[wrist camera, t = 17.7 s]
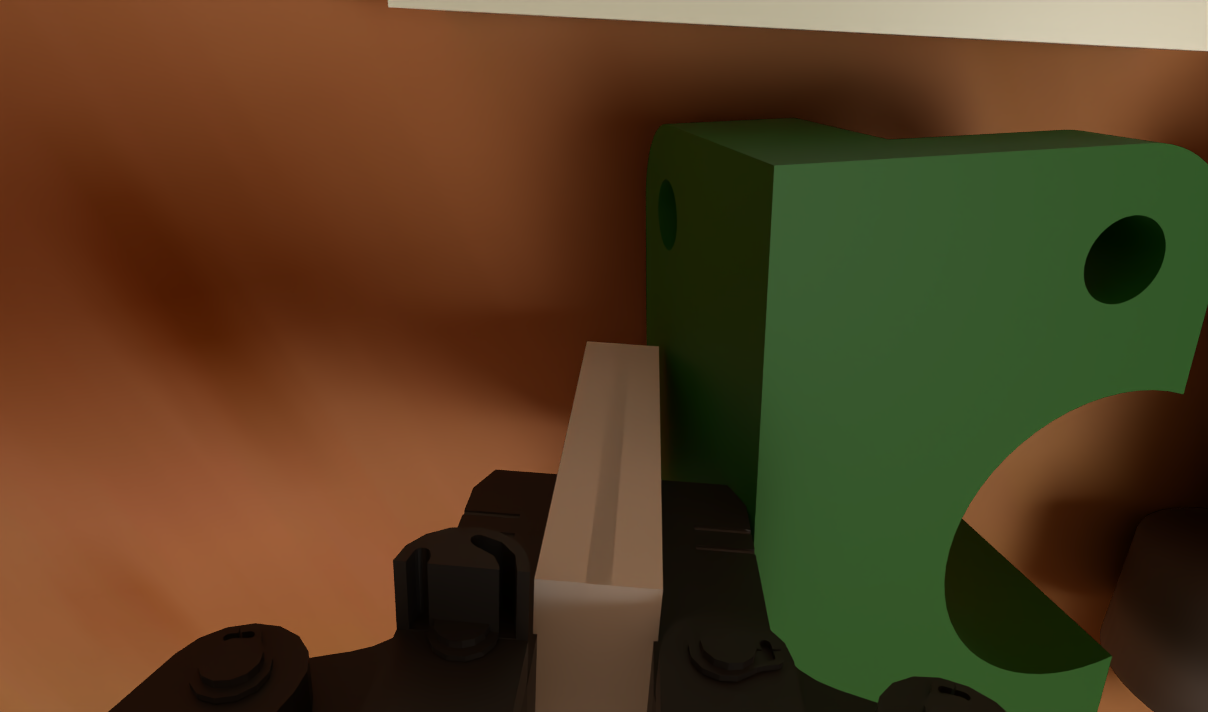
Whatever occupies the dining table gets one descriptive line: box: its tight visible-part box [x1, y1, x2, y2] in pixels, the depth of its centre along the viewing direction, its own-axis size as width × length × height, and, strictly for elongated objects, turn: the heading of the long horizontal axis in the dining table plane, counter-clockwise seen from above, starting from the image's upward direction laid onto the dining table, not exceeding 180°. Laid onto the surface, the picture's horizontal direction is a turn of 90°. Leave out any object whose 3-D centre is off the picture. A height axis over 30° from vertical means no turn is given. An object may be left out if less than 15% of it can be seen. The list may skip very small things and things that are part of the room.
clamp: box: [646, 118, 1208, 712], centre depth 13 cm, size 12×6×9 cm, turn 175°
